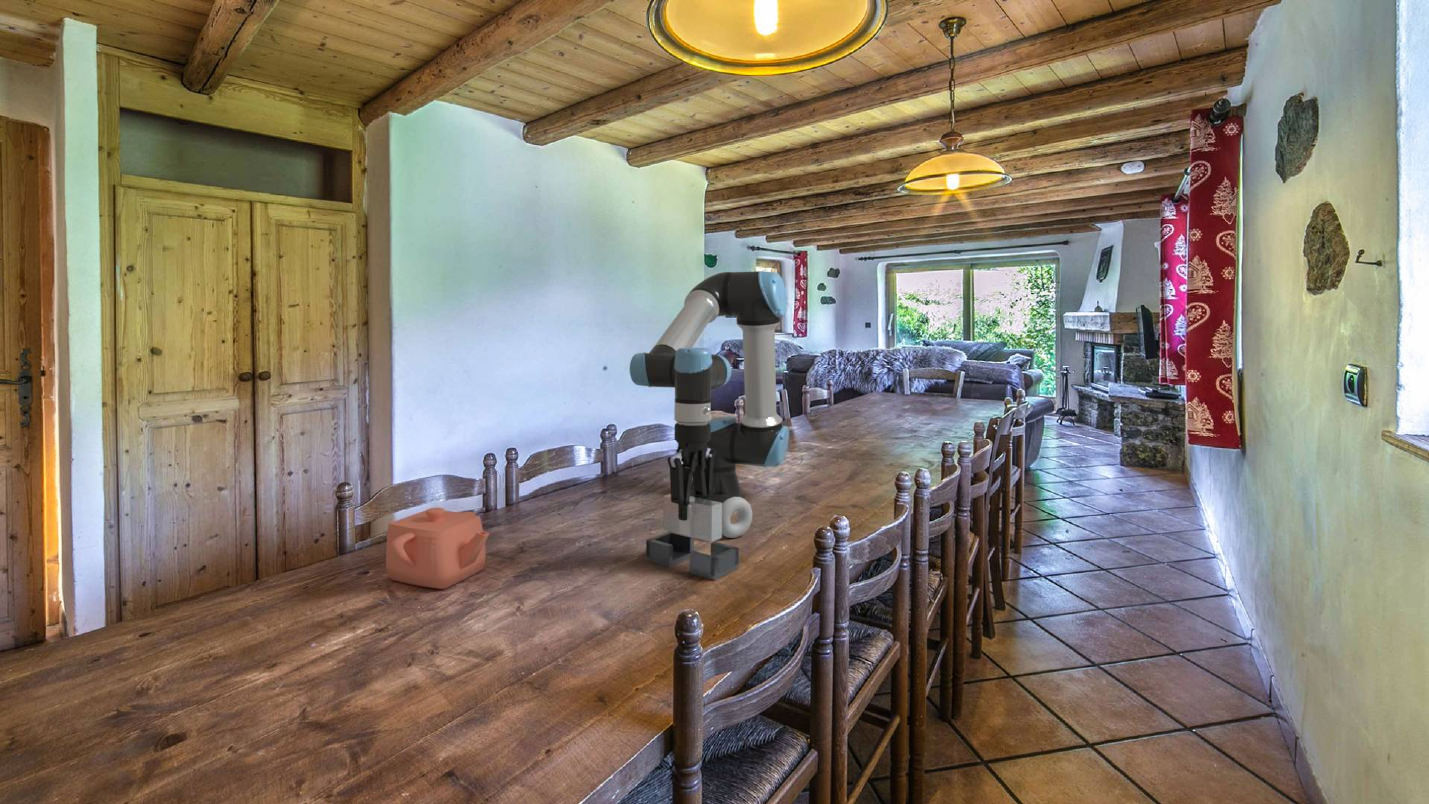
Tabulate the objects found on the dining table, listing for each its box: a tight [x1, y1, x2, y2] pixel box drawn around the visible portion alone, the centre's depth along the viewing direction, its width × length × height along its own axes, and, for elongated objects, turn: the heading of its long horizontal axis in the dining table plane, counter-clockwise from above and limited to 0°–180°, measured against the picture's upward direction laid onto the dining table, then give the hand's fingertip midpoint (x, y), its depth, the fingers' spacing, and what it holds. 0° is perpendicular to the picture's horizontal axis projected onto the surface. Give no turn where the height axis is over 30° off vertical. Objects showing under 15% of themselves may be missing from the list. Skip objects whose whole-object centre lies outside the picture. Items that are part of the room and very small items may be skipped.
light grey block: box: [662, 493, 723, 543], centre depth 143 cm, size 4×13×8 cm, turn 53°
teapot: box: [385, 507, 490, 590], centre depth 135 cm, size 20×22×14 cm
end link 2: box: [689, 541, 740, 582], centre depth 141 cm, size 8×6×4 cm
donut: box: [722, 496, 753, 539], centre depth 162 cm, size 10×4×10 cm, turn 125°
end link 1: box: [645, 531, 695, 568], centre depth 148 cm, size 8×6×4 cm
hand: (691, 531), depth 144 cm, fingers closed on light grey block, 3 cm apart
